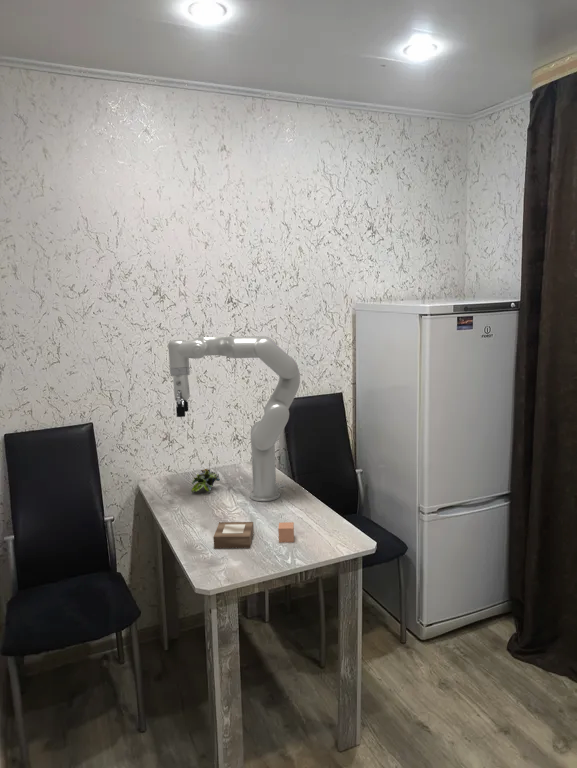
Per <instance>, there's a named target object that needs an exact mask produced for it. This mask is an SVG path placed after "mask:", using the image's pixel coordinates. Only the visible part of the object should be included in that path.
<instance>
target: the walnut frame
mask: <svg viewBox="0 0 577 768" xmlns="http://www.w3.org/2000/svg"><path fill="white" fill-rule="evenodd" d="M253 533H255V531H254V522H253V521H226V522H225V521H221V522H219V523H218V525H217V528H216V530H215V532H214V534H213V537H212V538H213V549H250V548H251V547H252V546H251V545H252V541H253V538H254V534H253Z"/></svg>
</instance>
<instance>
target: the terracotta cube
mask: <svg viewBox="0 0 577 768" xmlns="http://www.w3.org/2000/svg"><path fill="white" fill-rule="evenodd" d="M277 531H278V543H294V542H295V522H293V521H292V522H279V523H278V530H277Z"/></svg>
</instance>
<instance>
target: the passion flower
mask: <svg viewBox="0 0 577 768" xmlns="http://www.w3.org/2000/svg"><path fill="white" fill-rule="evenodd" d="M200 471H201V472H199V473H197V474H196V477H193V480H192V482H191V485H193V487H192V488H191V491H190V492H191V493H192V494H193V493H194V492H196V493H197V492H198V491H200V490H201V489H202V488H204V490H205V491H206V492H208V494H210V493H211V490H212V488H213V486H214V484H215V483H216V481H217V482H219V481H220V476H219V474H217V473H216V472H214V471H211V469H209V468H204V469H201V470H200Z"/></svg>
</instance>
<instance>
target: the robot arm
mask: <svg viewBox="0 0 577 768" xmlns="http://www.w3.org/2000/svg"><path fill="white" fill-rule="evenodd" d="M167 348H168V360H169V362H168V363H169V373H170V374H169V375H170V377H173V381H172V383H173V395H174V400H175V402H176V403H175V405H176V407H175V410H176V411H175V412H176V417H177V418H184V417H186V412H187V413H188V412H189V402H188V401H189V399H190V396H191V394H190V393H191V392H190V381H189V376H190V375H191V373H190V371H191V370H190V359H197V360H199V359H203V358H204V357H205V356H206V357H208V356H220V357H221V356H222V357H226V358H230V359H260V360H261V361H262V362H263V363H264V364H265V365H266V366H267V367H268V368H269V369H271V370H272V371H273V372H274V373H275V375H277V376H278V377H279V379H278V382H277V385H276V387H275V389H274V391H273V393H272V394H271V396H270V398H269V399H268V401H267V403H266V404H265V406H264V409H263V413H264V414H263V415H262V417H261V419H260V421H259V420H258V421H256V422H255V423H254V424H253V425H252V426H251V428H250V447H251V448H250V449H251V466H252V469H251V470H252V471H251V472H252V487H253V488H252V491H250V493H249V498H250V499H251V500H252V501H255V502H272V501H275V500H277V499H279V498H280V497H281V492H280V490H281V489H284V488H286V487H287V486H286V483H285V482H283V483H280V482H277V475H276V471H277V470H276V447H275V446H276V445H275V444H276V443H277V441H278V439H279V438H280V437H281V434H282V433H283V431H284V429H285V427H286V425H287V423H288V422H289V419H290V410H289V409H290V407H291V405H292V403H293V401H294V399H295V397H296V395H297V393H298V391H299V389H300V384H301V375H300V368H299V365H298V363H297V362H296V360H295V359H294V357H292V356H290V355H289V354H288V353H287V352H285V350H283V349H282V348H281V347H280V346H279V345H277V343H276V342H275V341H274V340H273V339H272V338H270V337H269V336H265V335H263V336H262V335H261V336H259V335H258V336H257V335H256V336H253V335H252V336H251V335H250V336H217V337H215V336H213V337H212V336H210V337H207V336H205V337H204V336H203V337H202V336H201V337H195V338H193V339H191V340H185V339H172V340H170V341H169V342H168V347H167Z"/></svg>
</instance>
